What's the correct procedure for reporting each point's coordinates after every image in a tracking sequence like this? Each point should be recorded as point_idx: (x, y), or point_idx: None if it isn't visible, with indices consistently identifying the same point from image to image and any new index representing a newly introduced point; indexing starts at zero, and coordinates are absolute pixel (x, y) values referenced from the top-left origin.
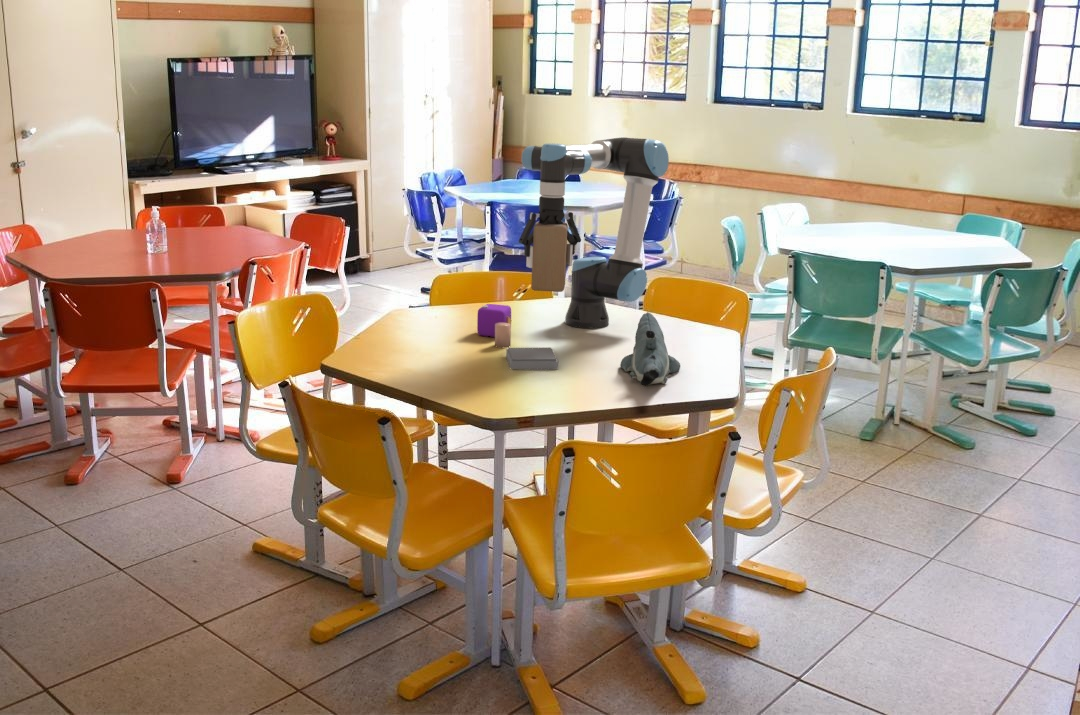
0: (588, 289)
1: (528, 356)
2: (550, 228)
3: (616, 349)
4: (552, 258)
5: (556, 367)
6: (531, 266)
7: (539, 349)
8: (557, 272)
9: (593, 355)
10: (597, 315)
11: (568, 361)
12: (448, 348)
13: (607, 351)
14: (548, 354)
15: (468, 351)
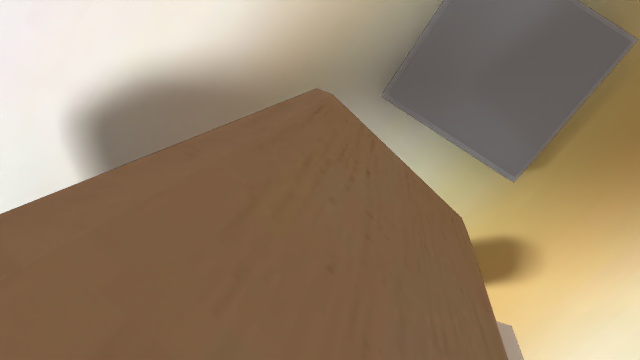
0: None
1: (546, 41)
2: None
3: (157, 41)
4: (353, 219)
5: None
6: (501, 331)
7: (440, 96)
8: (333, 134)
9: (260, 25)
10: None
11: (376, 12)
12: (580, 345)
13: (194, 38)
14: (463, 20)
15: (557, 288)
